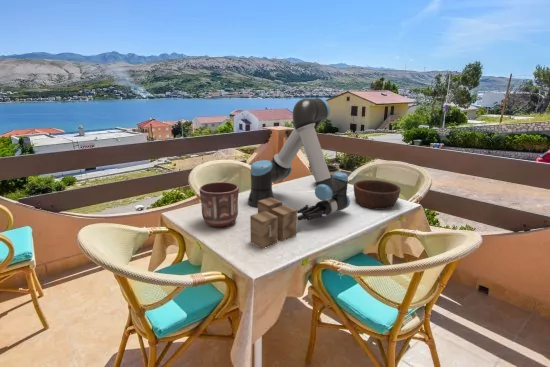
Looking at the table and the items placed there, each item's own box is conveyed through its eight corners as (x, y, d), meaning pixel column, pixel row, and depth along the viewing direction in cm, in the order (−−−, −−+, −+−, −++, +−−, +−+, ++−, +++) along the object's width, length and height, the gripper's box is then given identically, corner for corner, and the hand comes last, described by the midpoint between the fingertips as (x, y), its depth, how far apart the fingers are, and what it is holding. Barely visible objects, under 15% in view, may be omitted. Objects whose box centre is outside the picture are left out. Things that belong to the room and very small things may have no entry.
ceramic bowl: (318, 195, 200) (323, 174, 193) (302, 181, 212) (306, 161, 205) (346, 189, 213) (352, 169, 206) (329, 176, 225) (334, 157, 218)
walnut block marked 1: (262, 249, 127) (262, 222, 124) (250, 241, 133) (250, 215, 130) (277, 243, 132) (278, 216, 129) (265, 236, 138) (265, 211, 135)
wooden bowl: (405, 202, 181) (407, 185, 178) (387, 215, 163) (389, 196, 160) (364, 193, 197) (366, 177, 194) (344, 203, 179) (345, 186, 176)
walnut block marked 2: (268, 230, 144) (268, 205, 141) (257, 224, 150) (257, 200, 147) (281, 225, 149) (282, 201, 146) (270, 220, 155) (270, 197, 152)
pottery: (217, 234, 139) (215, 195, 134) (194, 223, 151) (192, 187, 146) (246, 222, 152) (246, 187, 147) (223, 213, 163) (222, 179, 158)
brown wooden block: (282, 240, 135) (283, 214, 131) (270, 234, 140) (270, 209, 137) (296, 235, 140) (297, 210, 136) (283, 229, 145) (284, 204, 142)
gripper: (335, 218, 152) (301, 232, 137) (315, 210, 161) (281, 222, 146) (337, 203, 149) (301, 216, 135) (316, 196, 159) (281, 207, 144)
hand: (291, 219), depth 141 cm, fingers closed
